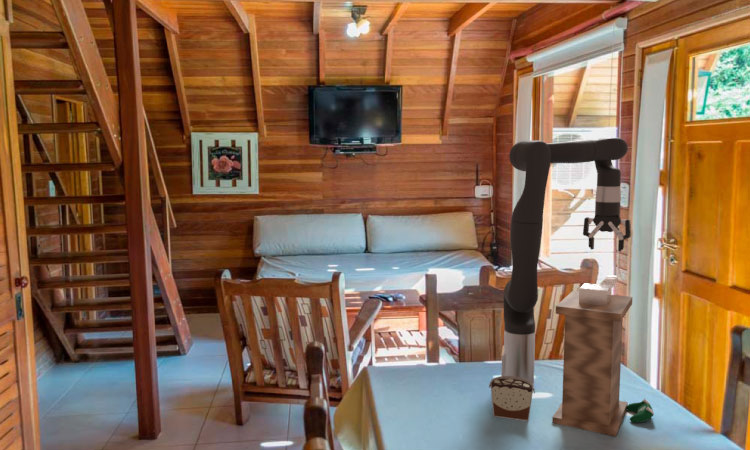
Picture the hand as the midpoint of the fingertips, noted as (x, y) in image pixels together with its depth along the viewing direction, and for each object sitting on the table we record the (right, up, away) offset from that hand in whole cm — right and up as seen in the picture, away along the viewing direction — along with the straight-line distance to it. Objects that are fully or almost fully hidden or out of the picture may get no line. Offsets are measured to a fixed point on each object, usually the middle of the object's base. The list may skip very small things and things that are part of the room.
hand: (605, 250), depth 197 cm
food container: (-37, -44, -29) cm, 64 cm away
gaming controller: (-3, -45, -31) cm, 54 cm away
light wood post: (-10, -11, -23) cm, 27 cm away
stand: (-15, -44, -30) cm, 55 cm away
